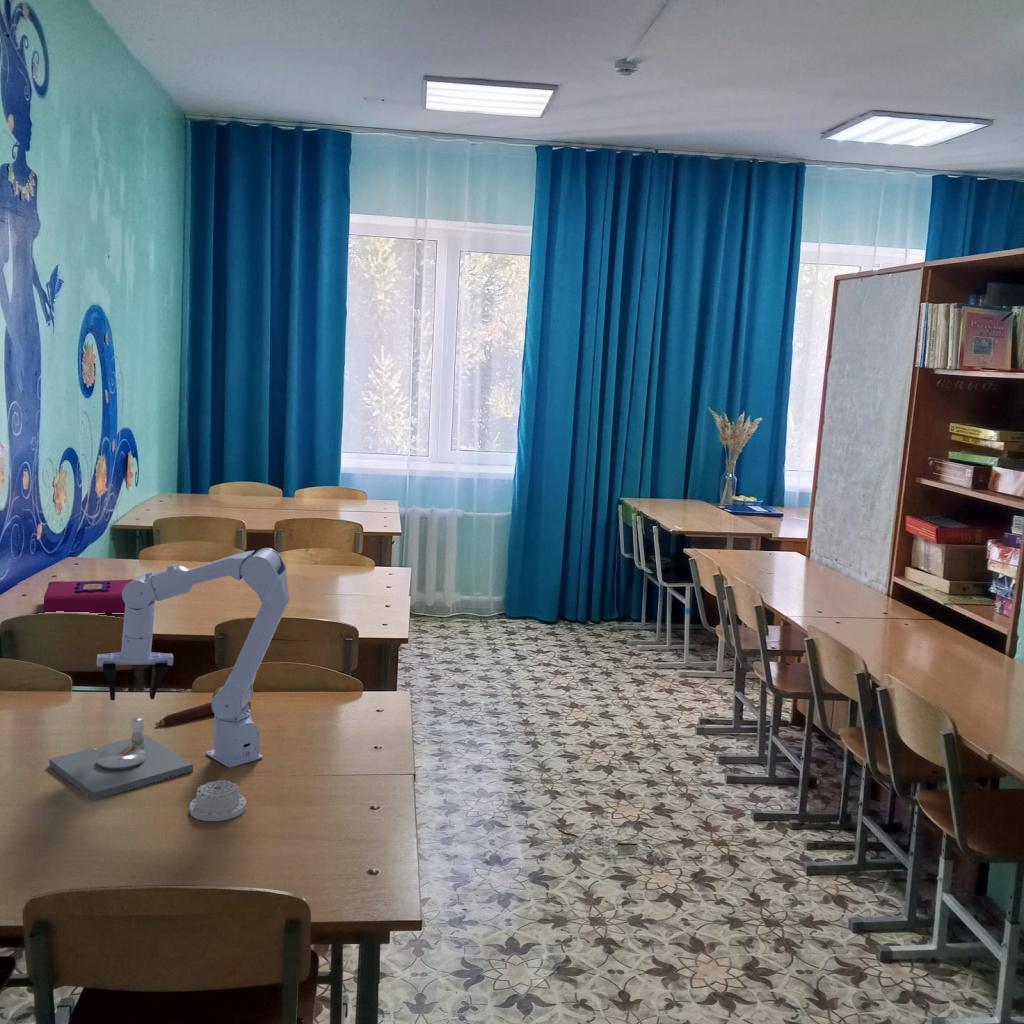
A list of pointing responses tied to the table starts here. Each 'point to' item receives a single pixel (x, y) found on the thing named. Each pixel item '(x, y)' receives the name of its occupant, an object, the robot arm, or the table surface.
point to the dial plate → (106, 782)
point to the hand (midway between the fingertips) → (132, 698)
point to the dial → (126, 750)
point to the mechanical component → (217, 801)
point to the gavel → (189, 713)
